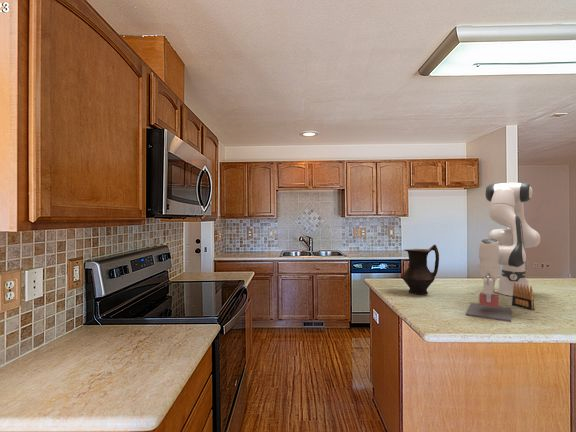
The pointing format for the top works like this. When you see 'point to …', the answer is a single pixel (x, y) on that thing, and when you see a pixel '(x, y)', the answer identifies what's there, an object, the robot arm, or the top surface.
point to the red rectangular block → (493, 302)
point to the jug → (420, 270)
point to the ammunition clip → (523, 297)
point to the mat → (489, 312)
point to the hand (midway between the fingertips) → (489, 300)
